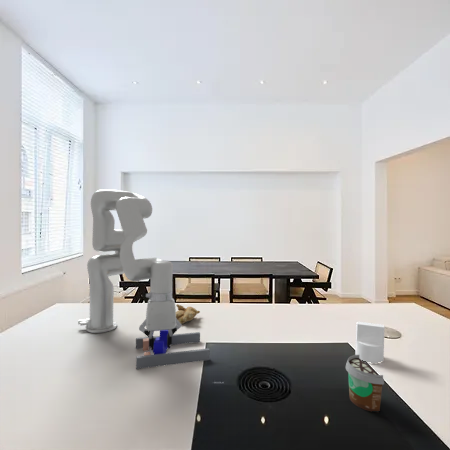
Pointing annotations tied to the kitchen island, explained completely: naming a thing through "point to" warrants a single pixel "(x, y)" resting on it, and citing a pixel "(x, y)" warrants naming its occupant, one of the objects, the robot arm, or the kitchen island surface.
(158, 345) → the cable clip
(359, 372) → the food container
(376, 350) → the cylinder with rectangular tab
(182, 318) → the ginger root
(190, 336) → the guide channel
